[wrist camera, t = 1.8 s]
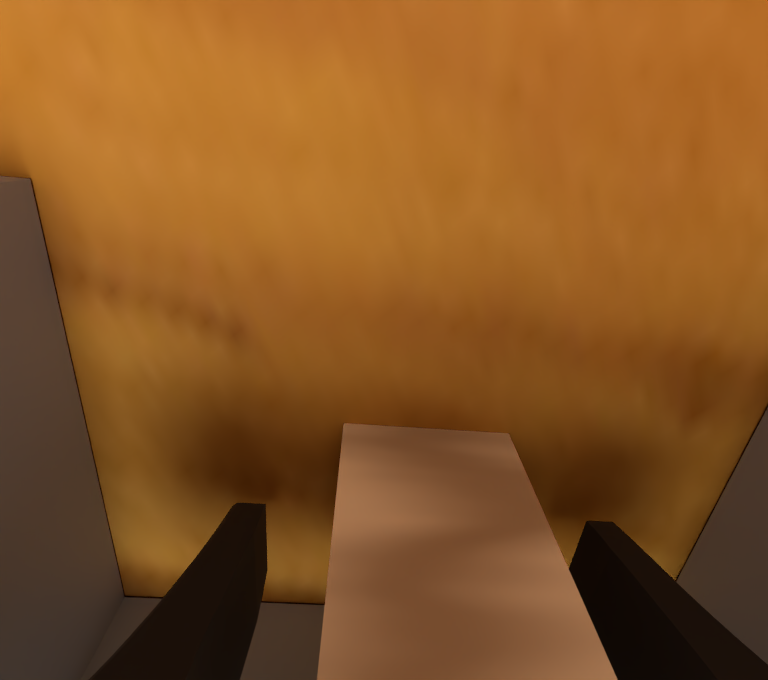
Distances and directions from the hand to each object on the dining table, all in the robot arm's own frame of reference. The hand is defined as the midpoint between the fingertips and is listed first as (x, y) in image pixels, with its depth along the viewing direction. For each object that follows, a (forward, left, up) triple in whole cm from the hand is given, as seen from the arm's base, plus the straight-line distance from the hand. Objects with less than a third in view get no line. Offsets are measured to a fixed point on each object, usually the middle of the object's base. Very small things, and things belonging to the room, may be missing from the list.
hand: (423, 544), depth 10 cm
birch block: (0, 0, -2) cm, 2 cm away
